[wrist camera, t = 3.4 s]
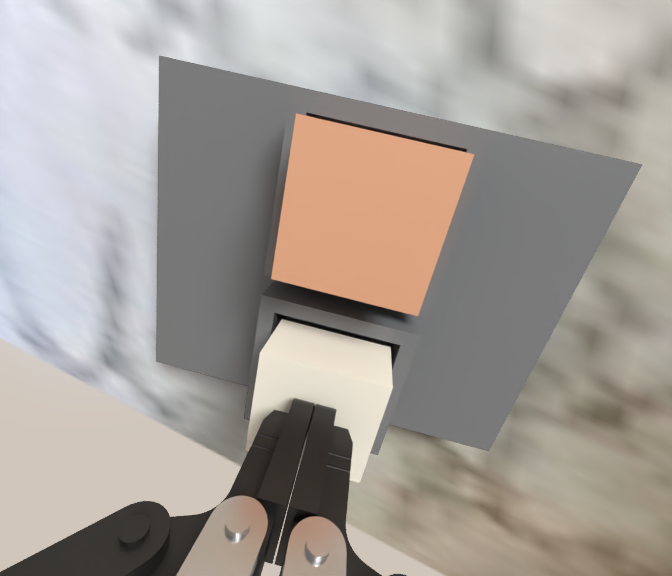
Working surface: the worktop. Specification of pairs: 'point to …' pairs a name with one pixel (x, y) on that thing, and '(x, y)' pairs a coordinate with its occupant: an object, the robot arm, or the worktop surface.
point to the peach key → (365, 213)
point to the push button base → (350, 315)
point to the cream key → (324, 382)
